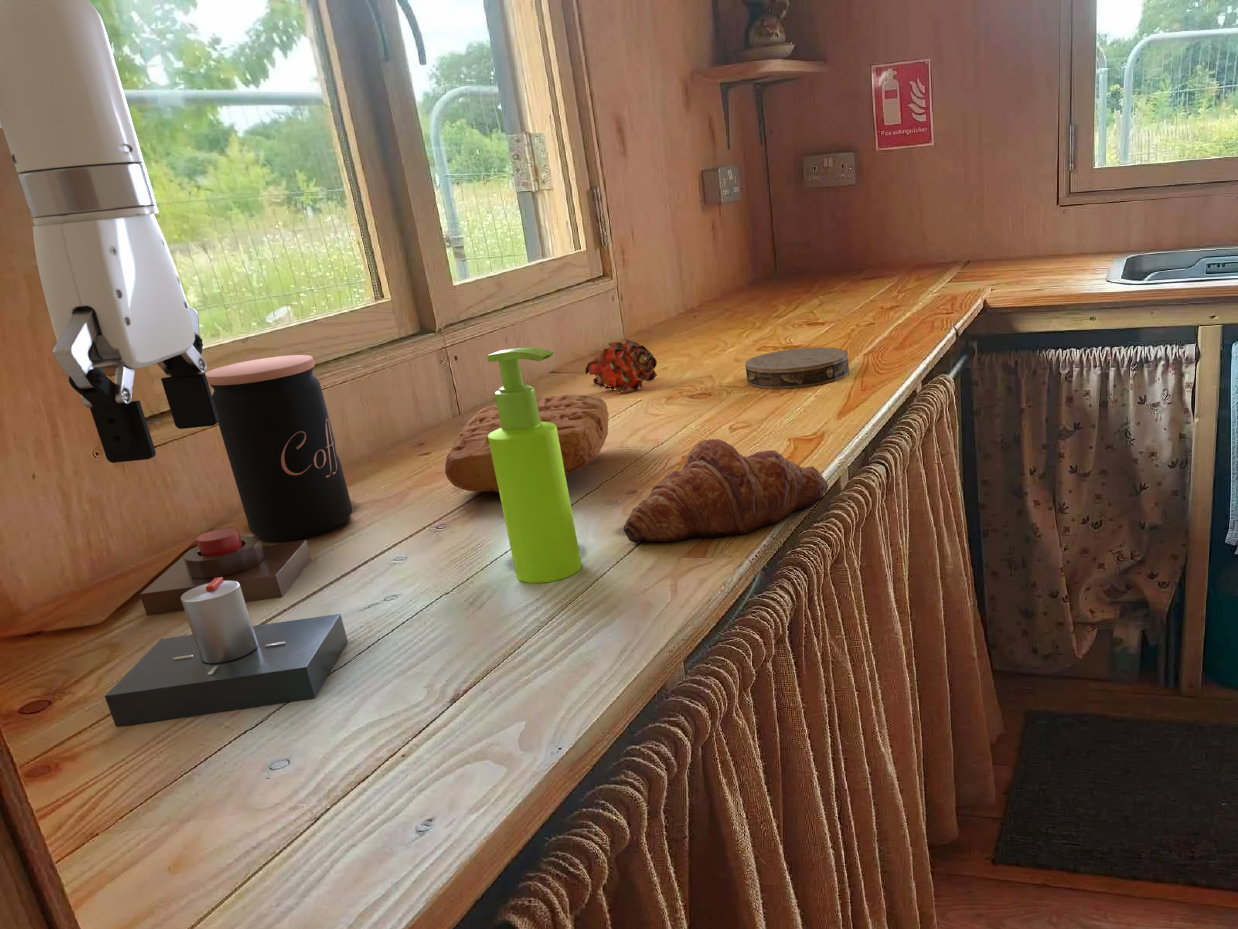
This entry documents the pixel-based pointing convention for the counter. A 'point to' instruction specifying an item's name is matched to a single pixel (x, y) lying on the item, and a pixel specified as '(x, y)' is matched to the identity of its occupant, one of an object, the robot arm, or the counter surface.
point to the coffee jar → (281, 447)
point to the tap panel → (229, 673)
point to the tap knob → (219, 621)
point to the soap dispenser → (531, 477)
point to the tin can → (797, 368)
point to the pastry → (723, 495)
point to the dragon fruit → (623, 366)
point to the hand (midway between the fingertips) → (167, 442)
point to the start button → (219, 541)
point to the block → (230, 573)
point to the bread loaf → (572, 415)
